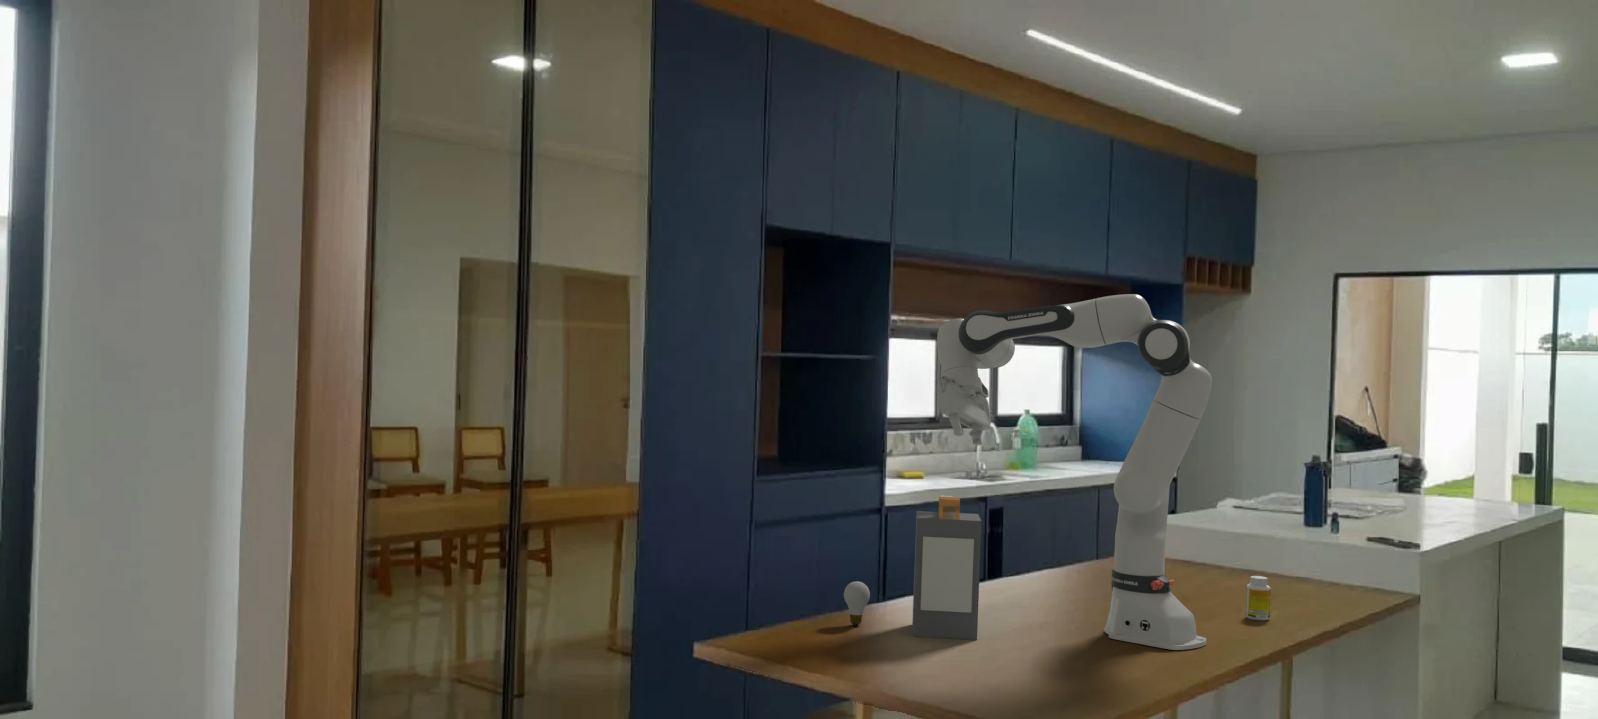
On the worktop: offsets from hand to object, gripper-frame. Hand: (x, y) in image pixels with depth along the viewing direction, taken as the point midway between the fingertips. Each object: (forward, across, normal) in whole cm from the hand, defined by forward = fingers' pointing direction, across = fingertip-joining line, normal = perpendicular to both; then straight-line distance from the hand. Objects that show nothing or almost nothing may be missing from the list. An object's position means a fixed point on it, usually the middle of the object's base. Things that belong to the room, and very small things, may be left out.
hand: (968, 440), depth 280 cm
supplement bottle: (+41, +66, -40) cm, 88 cm away
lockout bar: (+17, -4, +6) cm, 18 cm away
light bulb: (+39, -10, +29) cm, 50 cm away
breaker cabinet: (+43, -1, +12) cm, 44 cm away
